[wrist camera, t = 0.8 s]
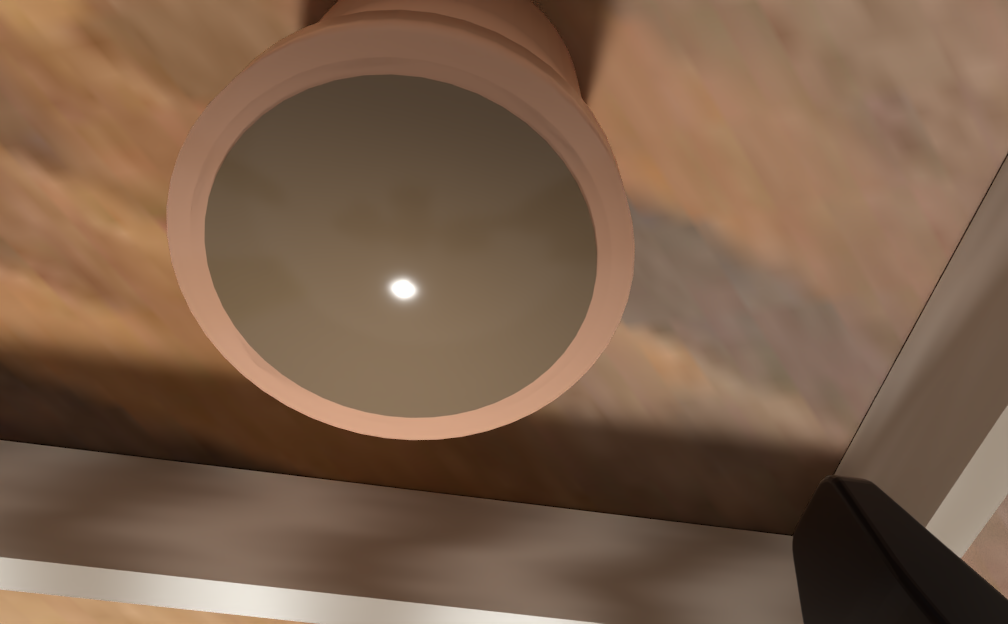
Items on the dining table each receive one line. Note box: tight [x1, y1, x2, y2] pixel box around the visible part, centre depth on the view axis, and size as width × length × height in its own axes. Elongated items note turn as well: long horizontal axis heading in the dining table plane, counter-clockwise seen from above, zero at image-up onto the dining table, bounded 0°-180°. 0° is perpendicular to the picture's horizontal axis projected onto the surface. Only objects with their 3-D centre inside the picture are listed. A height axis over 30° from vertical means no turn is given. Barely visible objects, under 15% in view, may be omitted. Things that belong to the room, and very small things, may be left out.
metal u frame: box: [0, 156, 1008, 624], centre depth 14 cm, size 25×22×4 cm
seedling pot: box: [167, 0, 635, 440], centre depth 13 cm, size 6×6×6 cm
